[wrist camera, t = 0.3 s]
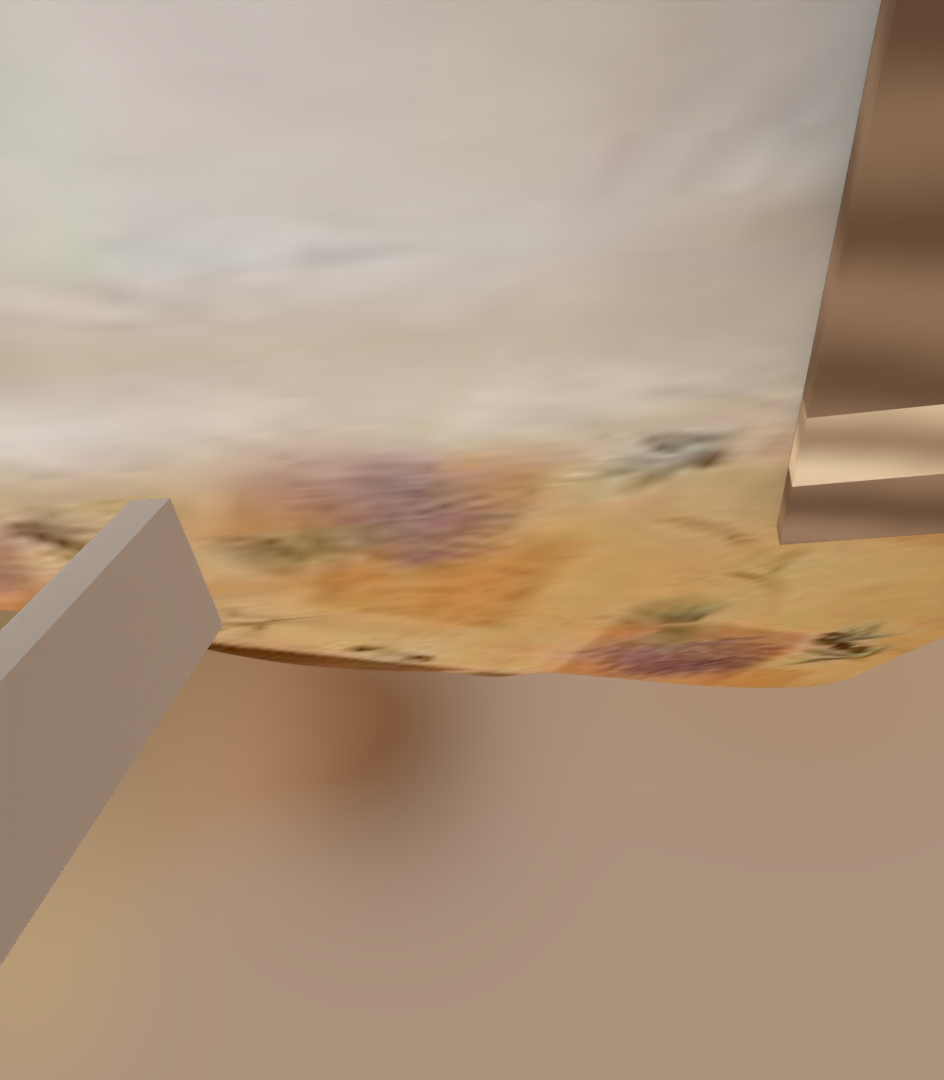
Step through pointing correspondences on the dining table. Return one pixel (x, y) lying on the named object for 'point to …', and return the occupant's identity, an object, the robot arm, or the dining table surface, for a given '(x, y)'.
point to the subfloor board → (881, 310)
